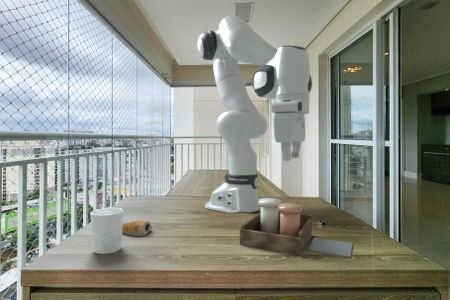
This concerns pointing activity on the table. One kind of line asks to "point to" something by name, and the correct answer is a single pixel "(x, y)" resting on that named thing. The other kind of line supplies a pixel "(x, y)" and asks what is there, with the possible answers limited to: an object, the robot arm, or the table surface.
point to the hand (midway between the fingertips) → (291, 159)
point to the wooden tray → (276, 236)
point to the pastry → (137, 228)
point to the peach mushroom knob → (289, 219)
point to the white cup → (107, 230)
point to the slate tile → (331, 247)
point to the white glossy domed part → (269, 215)
